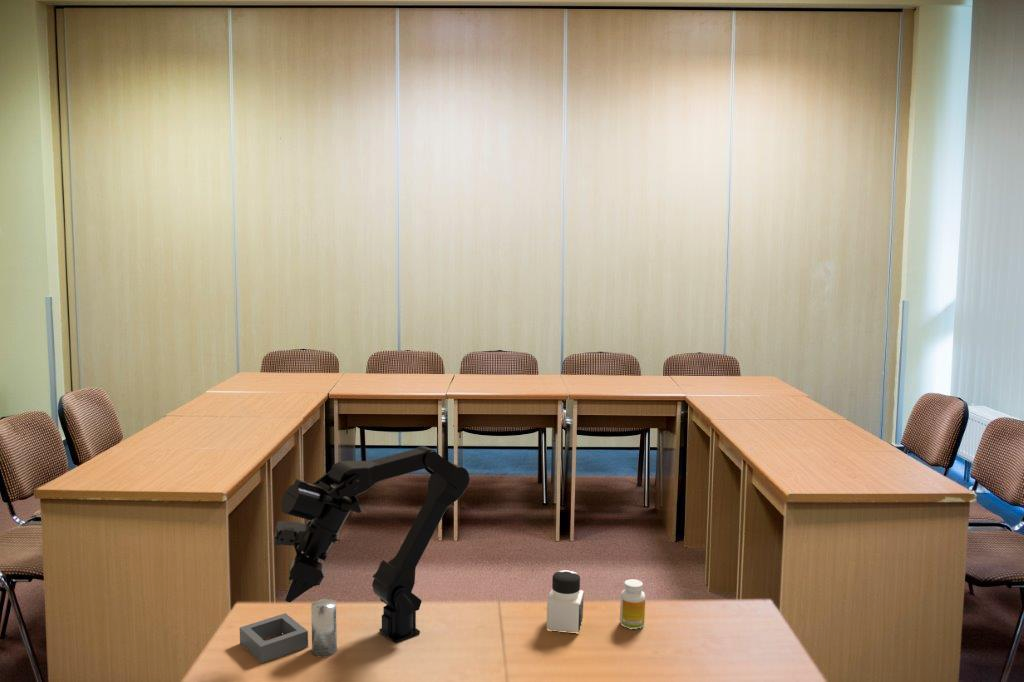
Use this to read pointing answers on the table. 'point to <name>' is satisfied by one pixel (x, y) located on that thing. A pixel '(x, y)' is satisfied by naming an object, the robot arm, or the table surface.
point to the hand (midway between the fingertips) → (289, 590)
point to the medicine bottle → (565, 602)
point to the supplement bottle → (632, 604)
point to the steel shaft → (324, 627)
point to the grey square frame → (275, 647)
